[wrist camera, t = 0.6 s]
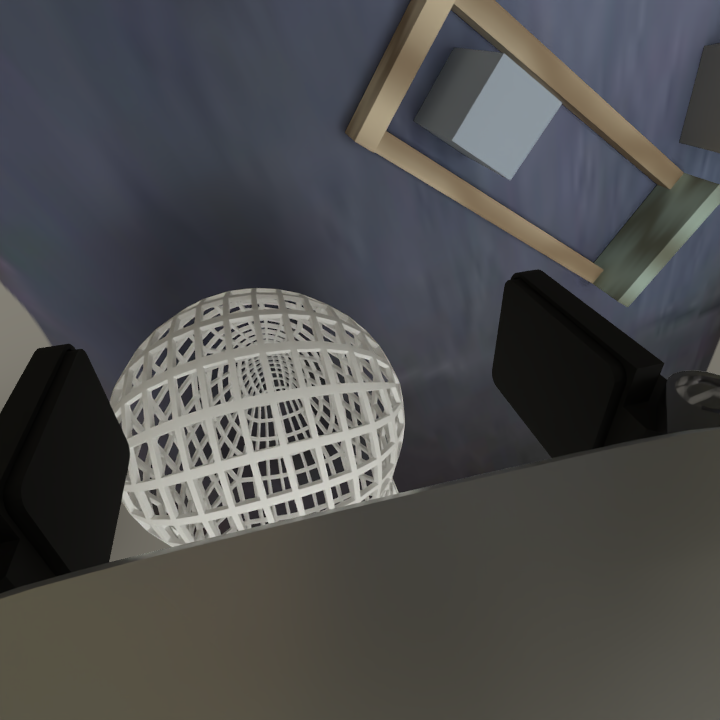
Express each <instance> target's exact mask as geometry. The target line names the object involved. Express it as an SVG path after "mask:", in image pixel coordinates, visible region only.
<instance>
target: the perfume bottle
mask: <svg viewBox="0 0 720 720" xmlns="http://www.w3.org/2000/svg"><path fill="white" fill-rule="evenodd" d="M679 143H683V144H687V145H691V146H695V147H698V148H702V149H706V150H710V151H714V152H717V153H720V43H718V44H713V45H707V46H704V49H703V53H702V57H701V61H700V65H699V68H698V72H697V76H696V80H695V84H694V88H693V91H692V95H691V99H690V103H689V107H688V111H687V115H686V118H685V122H684V126H683V130H682V134H681V138H680V142H679Z"/></svg>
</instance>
